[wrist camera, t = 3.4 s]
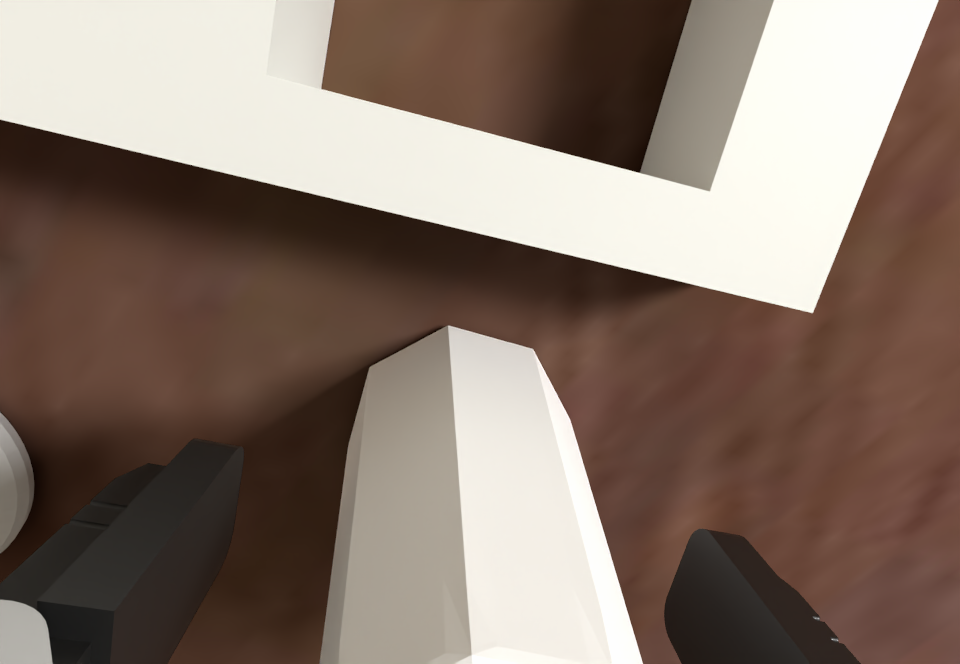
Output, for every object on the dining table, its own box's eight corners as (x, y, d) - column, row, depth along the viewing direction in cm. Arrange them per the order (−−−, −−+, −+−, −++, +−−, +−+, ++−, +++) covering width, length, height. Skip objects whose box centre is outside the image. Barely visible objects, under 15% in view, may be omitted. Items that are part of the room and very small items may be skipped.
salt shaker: (366, 537, 14) (137, 1628, 3) (330, 336, 13) (-253, 1157, 2) (573, 511, 14) (956, 1458, 4) (563, 311, 13) (1148, 929, 2)
